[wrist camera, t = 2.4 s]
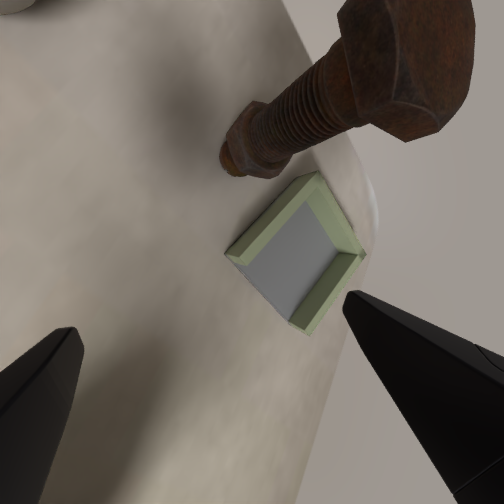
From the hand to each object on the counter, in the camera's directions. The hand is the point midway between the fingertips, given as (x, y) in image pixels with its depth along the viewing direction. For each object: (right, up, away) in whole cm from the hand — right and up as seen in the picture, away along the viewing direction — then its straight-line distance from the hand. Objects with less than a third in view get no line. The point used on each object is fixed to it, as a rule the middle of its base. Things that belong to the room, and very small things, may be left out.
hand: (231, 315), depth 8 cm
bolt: (-1, +10, +12) cm, 16 cm away
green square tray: (+5, +2, +16) cm, 17 cm away
